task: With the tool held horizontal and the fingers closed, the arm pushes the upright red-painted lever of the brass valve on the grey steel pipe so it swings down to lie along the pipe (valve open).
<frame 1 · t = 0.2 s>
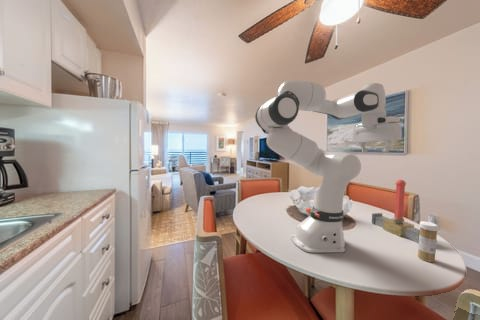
hand: (374, 152, 80), 39 cm above the table, tool pointing down, fingers open, 8 cm apart
sprinkles bottle: (426, 259, 65), on the table
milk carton: (323, 213, 112), on the table
lever: (399, 200, 85), point 16 cm above the table, hinge at 0.0°
valve body: (397, 232, 86), on the table
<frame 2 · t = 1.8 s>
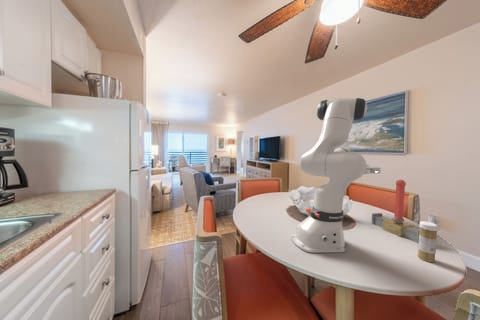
hand: (375, 171, 97), 28 cm above the table, tool horizontal, fingers open, 5 cm apart
nothing on the table moved.
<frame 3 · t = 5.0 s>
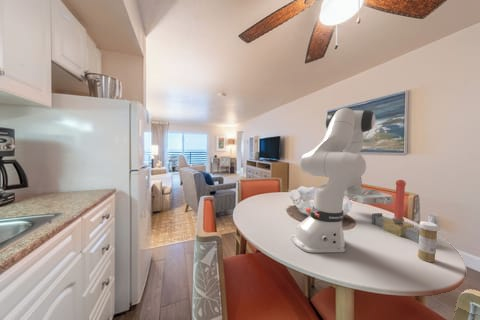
hand: (388, 202, 90), 13 cm above the table, tool horizontal, fingers closed
nothing on the table moved.
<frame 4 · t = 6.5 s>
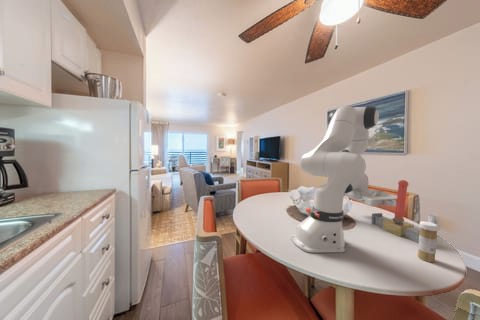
hand: (398, 205, 86), 13 cm above the table, tool horizontal, fingers closed, pressing on lever
lever: (400, 201, 85), point 15 cm above the table, hinge at 3.5°, touching gripper
everything else where it was.
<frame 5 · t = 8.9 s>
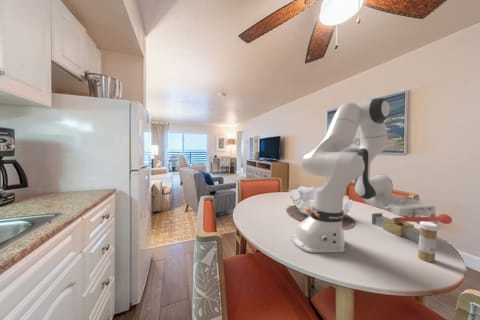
hand: (433, 215, 73), 13 cm above the table, tool horizontal, fingers closed
lever: (420, 219, 77), point 10 cm above the table, hinge at 67.4°
everything else where it was.
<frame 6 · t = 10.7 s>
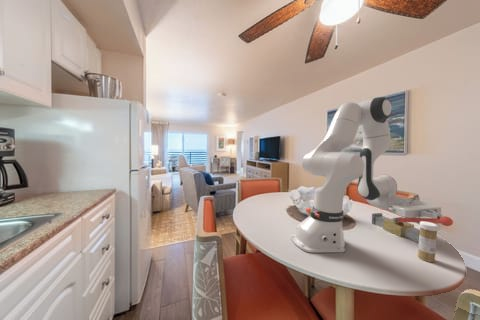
hand: (439, 216, 71), 13 cm above the table, tool horizontal, fingers closed, pressing on lever
lever: (420, 220, 77), point 9 cm above the table, hinge at 70.0°, touching gripper
everything else where it was.
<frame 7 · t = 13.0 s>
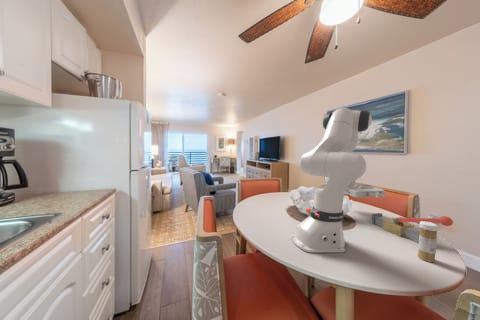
hand: (380, 196, 94), 16 cm above the table, tool horizontal, fingers closed
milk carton: (324, 213, 112), on the table, touching arm
lever: (420, 220, 77), point 9 cm above the table, hinge at 70.0°
everything else where it was.
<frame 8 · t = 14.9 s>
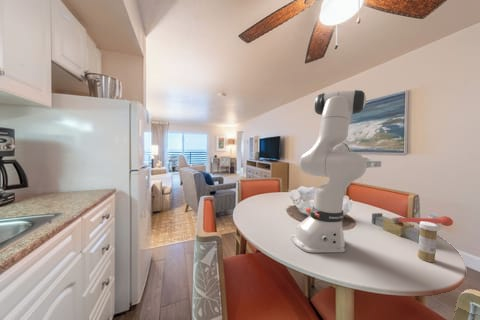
hand: (375, 165, 95), 32 cm above the table, tool horizontal, fingers closed
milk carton: (324, 213, 112), on the table
everything else where it was.
at the end: lever at +70° (first picture: +0°); lever tilted 70° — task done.
